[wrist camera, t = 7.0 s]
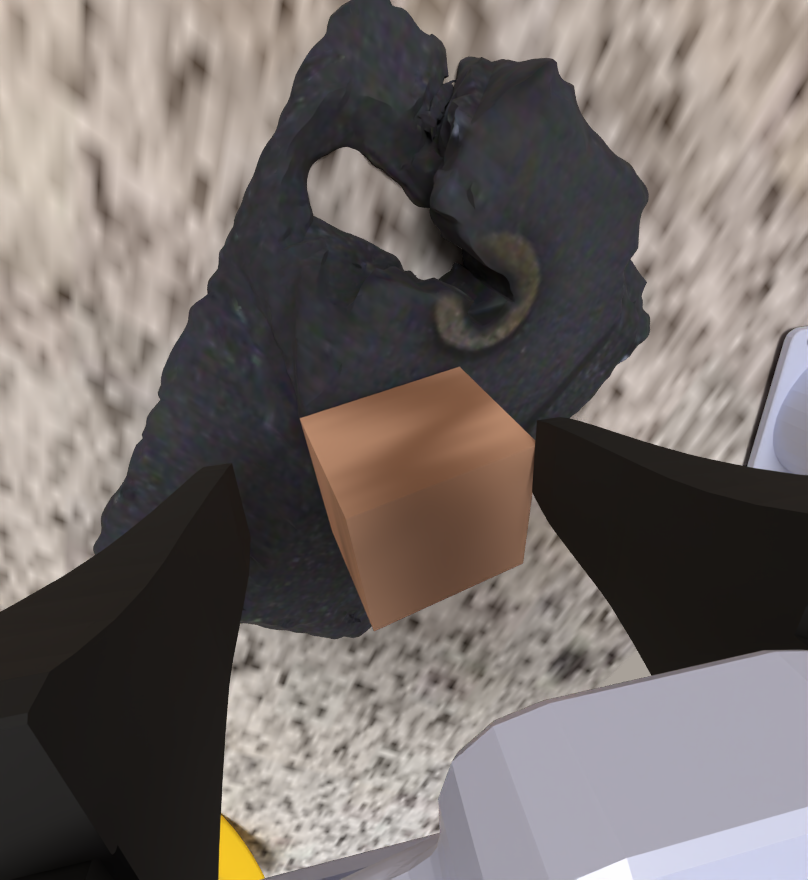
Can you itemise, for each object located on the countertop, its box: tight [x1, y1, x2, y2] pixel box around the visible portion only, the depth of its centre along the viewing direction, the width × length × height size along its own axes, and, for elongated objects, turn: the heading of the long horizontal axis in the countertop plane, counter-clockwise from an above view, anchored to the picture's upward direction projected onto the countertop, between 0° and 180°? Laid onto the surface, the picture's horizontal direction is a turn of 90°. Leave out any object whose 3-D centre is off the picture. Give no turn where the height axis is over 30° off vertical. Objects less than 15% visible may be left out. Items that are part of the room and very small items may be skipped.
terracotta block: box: [300, 367, 535, 631], centre depth 14 cm, size 5×5×4 cm
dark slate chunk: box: [93, 0, 650, 639], centre depth 17 cm, size 15×22×5 cm
